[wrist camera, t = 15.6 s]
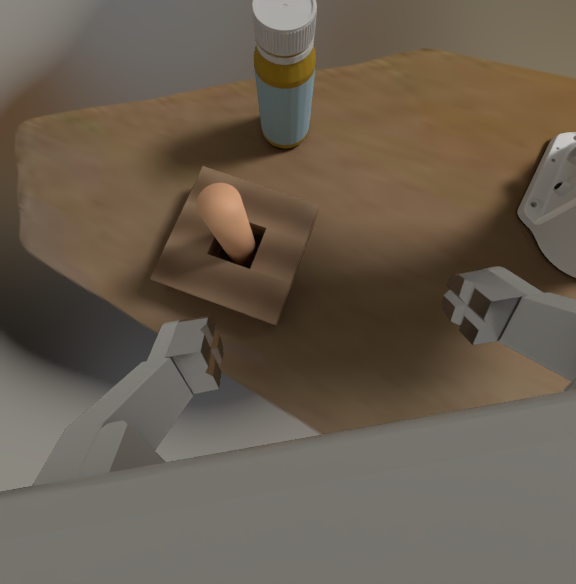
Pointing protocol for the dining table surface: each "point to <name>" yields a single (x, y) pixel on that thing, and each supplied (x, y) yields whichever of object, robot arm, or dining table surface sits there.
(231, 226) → the peg
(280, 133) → the bottle
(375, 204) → the dining table surface
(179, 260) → the socket block
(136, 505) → the robot arm
